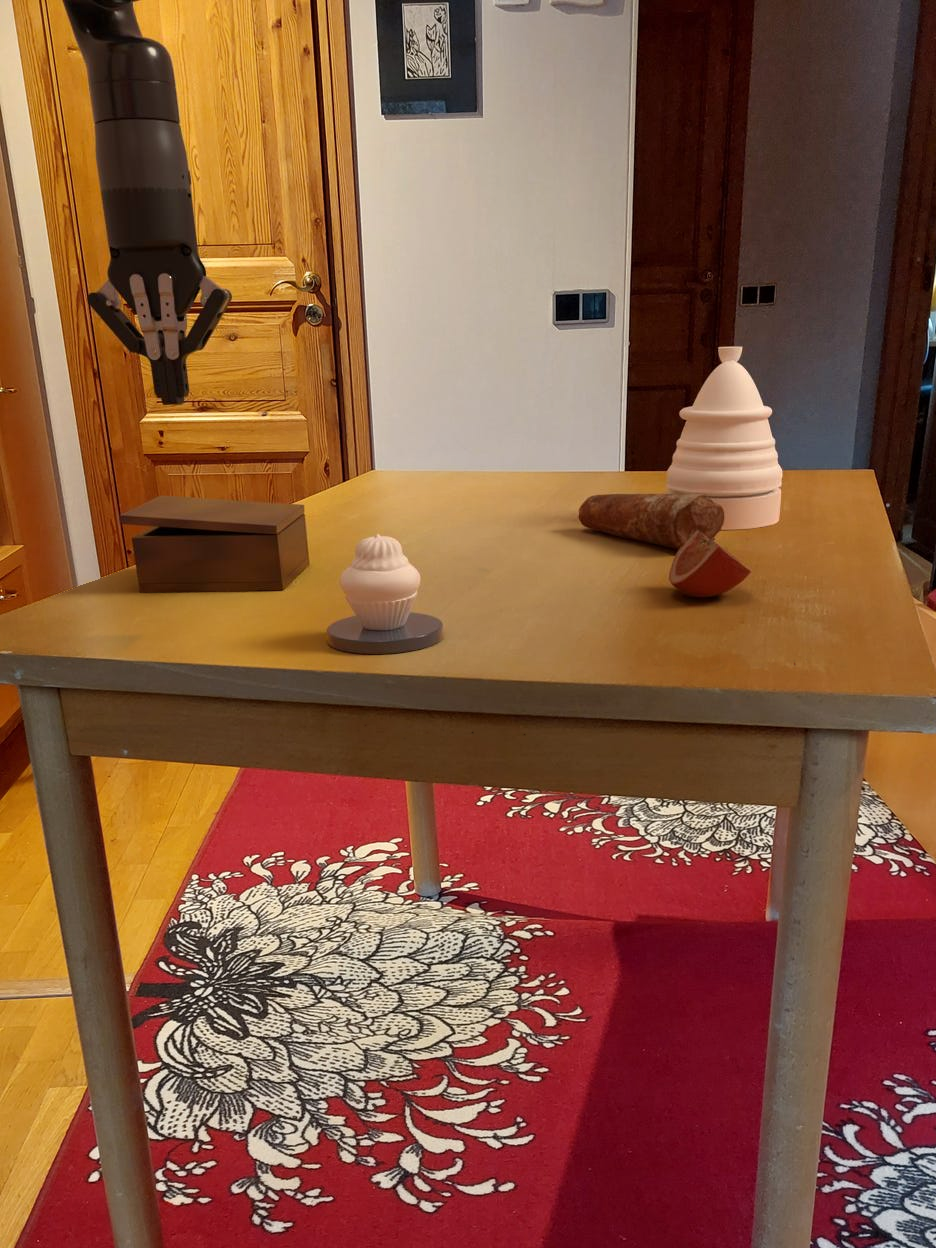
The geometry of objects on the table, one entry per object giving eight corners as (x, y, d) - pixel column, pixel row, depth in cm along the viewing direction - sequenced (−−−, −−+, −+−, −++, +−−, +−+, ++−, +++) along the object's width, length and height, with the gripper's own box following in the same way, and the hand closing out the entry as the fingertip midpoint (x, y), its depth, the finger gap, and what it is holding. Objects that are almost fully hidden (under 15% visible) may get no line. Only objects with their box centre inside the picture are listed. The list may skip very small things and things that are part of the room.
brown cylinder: (680, 557, 115) (682, 498, 113) (569, 531, 130) (568, 479, 128) (728, 549, 118) (732, 491, 115) (614, 524, 133) (615, 473, 130)
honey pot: (665, 510, 140) (671, 347, 132) (775, 509, 138) (787, 343, 130) (663, 530, 129) (669, 352, 121) (783, 529, 127) (797, 349, 119)
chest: (139, 592, 109) (131, 537, 107) (178, 566, 119) (171, 516, 117) (283, 590, 108) (277, 535, 105) (309, 564, 118) (305, 513, 116)
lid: (119, 524, 106) (118, 515, 106) (161, 503, 117) (160, 495, 116) (276, 534, 105) (276, 525, 105) (304, 513, 116) (304, 504, 115)
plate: (316, 655, 87) (315, 641, 87) (339, 624, 95) (338, 612, 95) (436, 653, 87) (435, 640, 86) (449, 623, 95) (448, 610, 94)
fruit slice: (660, 586, 104) (662, 528, 102) (735, 583, 104) (738, 525, 102) (677, 608, 97) (680, 547, 94) (758, 605, 97) (763, 543, 95)
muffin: (439, 622, 91) (435, 530, 88) (386, 640, 87) (379, 544, 84) (381, 612, 95) (375, 523, 92) (327, 628, 90) (318, 536, 87)
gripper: (52, 186, 97) (88, 409, 104) (208, 180, 96) (233, 406, 103) (87, 193, 103) (118, 402, 111) (233, 188, 102) (255, 399, 110)
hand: (173, 403), depth 107 cm, fingers closed
